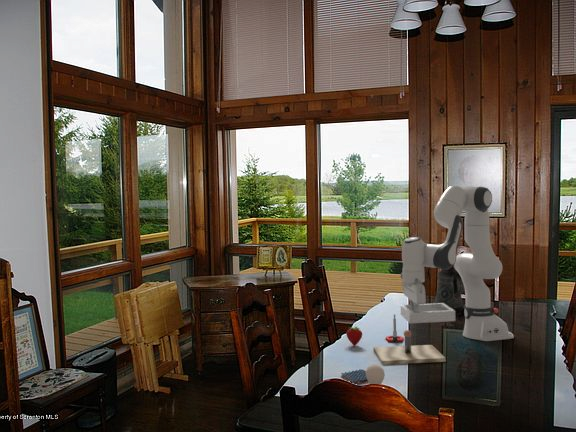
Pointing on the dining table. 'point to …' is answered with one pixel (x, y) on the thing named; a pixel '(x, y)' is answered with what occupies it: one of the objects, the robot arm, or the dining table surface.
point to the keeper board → (408, 353)
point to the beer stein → (450, 289)
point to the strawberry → (354, 335)
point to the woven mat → (355, 376)
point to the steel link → (428, 313)
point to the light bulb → (375, 374)
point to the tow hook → (394, 334)
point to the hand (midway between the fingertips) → (414, 310)
